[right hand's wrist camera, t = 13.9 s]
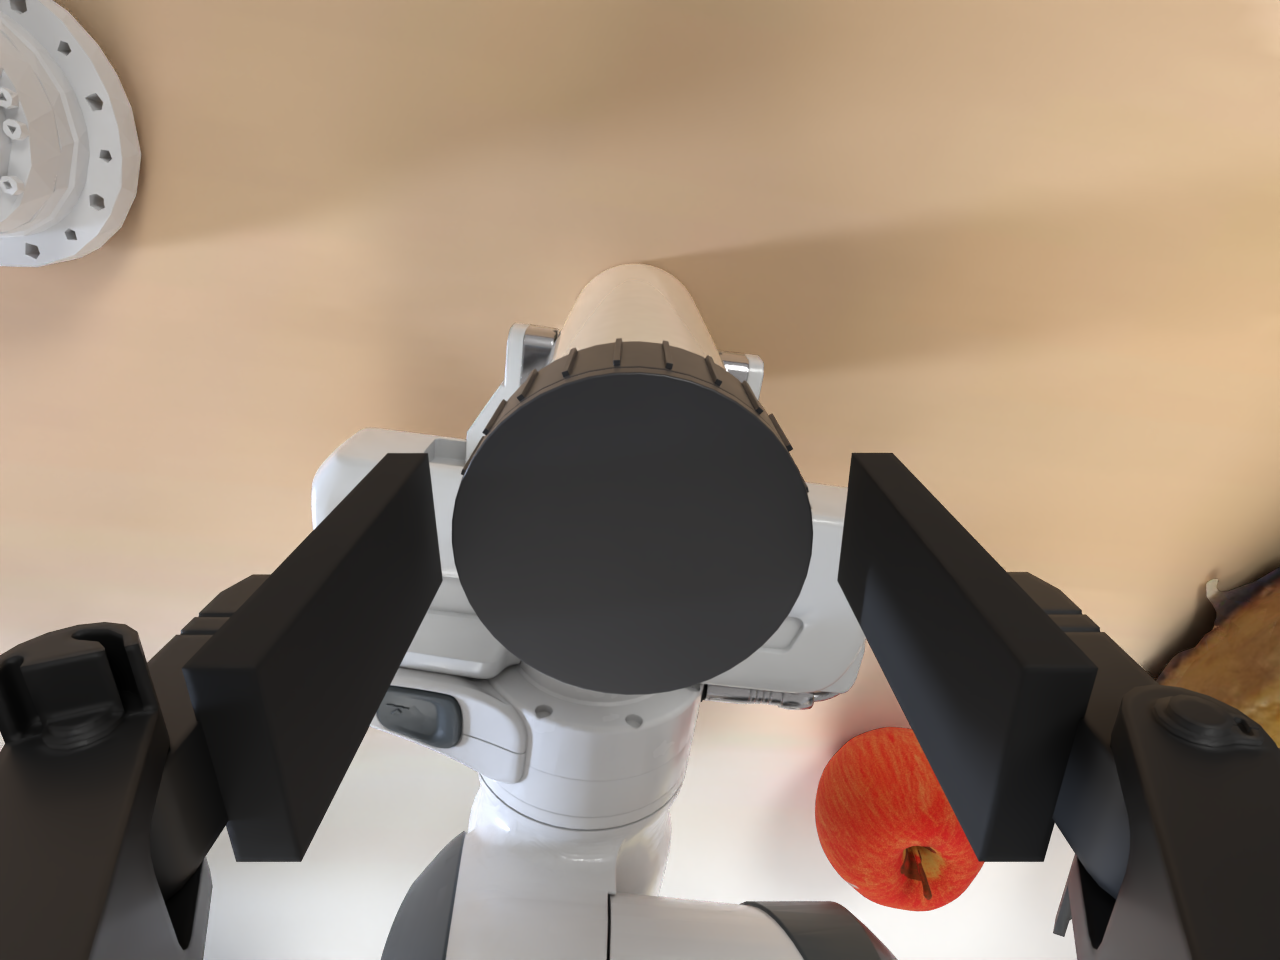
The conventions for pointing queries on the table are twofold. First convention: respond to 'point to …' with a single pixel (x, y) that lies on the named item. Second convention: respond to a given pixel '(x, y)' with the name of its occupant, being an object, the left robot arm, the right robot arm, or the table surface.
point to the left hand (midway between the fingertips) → (636, 341)
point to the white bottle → (635, 313)
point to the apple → (892, 824)
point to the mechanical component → (60, 138)
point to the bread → (1238, 653)
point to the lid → (632, 520)
